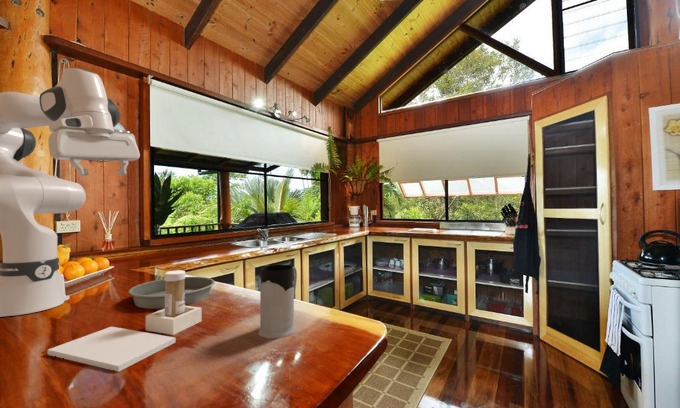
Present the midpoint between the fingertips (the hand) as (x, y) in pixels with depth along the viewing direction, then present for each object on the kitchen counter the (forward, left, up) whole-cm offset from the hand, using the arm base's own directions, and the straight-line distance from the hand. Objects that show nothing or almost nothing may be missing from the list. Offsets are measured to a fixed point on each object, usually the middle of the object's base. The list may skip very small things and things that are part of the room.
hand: (104, 175), depth 82 cm
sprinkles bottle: (+27, 0, -39) cm, 47 cm away
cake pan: (+7, +18, -39) cm, 44 cm away
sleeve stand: (+27, 0, -39) cm, 47 cm away
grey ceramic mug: (+53, +8, -39) cm, 66 cm away
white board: (+25, -13, -39) cm, 48 cm away
